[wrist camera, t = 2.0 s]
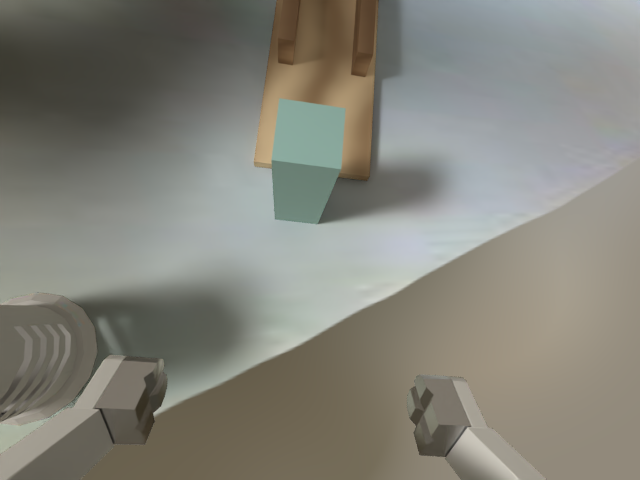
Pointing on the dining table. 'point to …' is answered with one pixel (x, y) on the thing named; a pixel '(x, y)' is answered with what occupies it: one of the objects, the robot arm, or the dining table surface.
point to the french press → (42, 356)
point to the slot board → (323, 72)
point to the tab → (305, 158)
